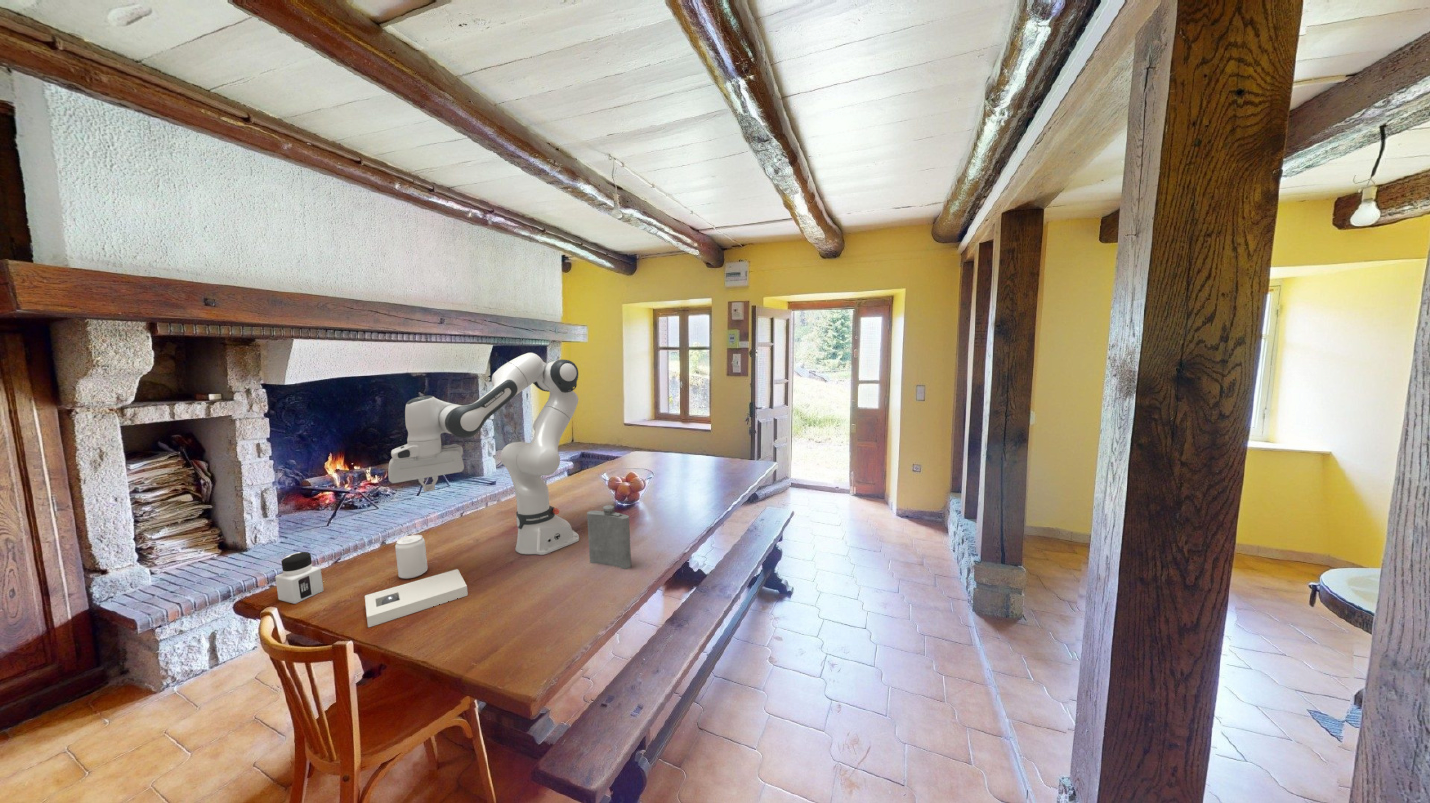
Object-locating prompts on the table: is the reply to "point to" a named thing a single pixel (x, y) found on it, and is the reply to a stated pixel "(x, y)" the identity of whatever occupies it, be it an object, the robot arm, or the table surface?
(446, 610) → the table surface
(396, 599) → the steel ball
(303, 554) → the container
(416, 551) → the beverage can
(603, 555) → the hip flask
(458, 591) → the hole board
